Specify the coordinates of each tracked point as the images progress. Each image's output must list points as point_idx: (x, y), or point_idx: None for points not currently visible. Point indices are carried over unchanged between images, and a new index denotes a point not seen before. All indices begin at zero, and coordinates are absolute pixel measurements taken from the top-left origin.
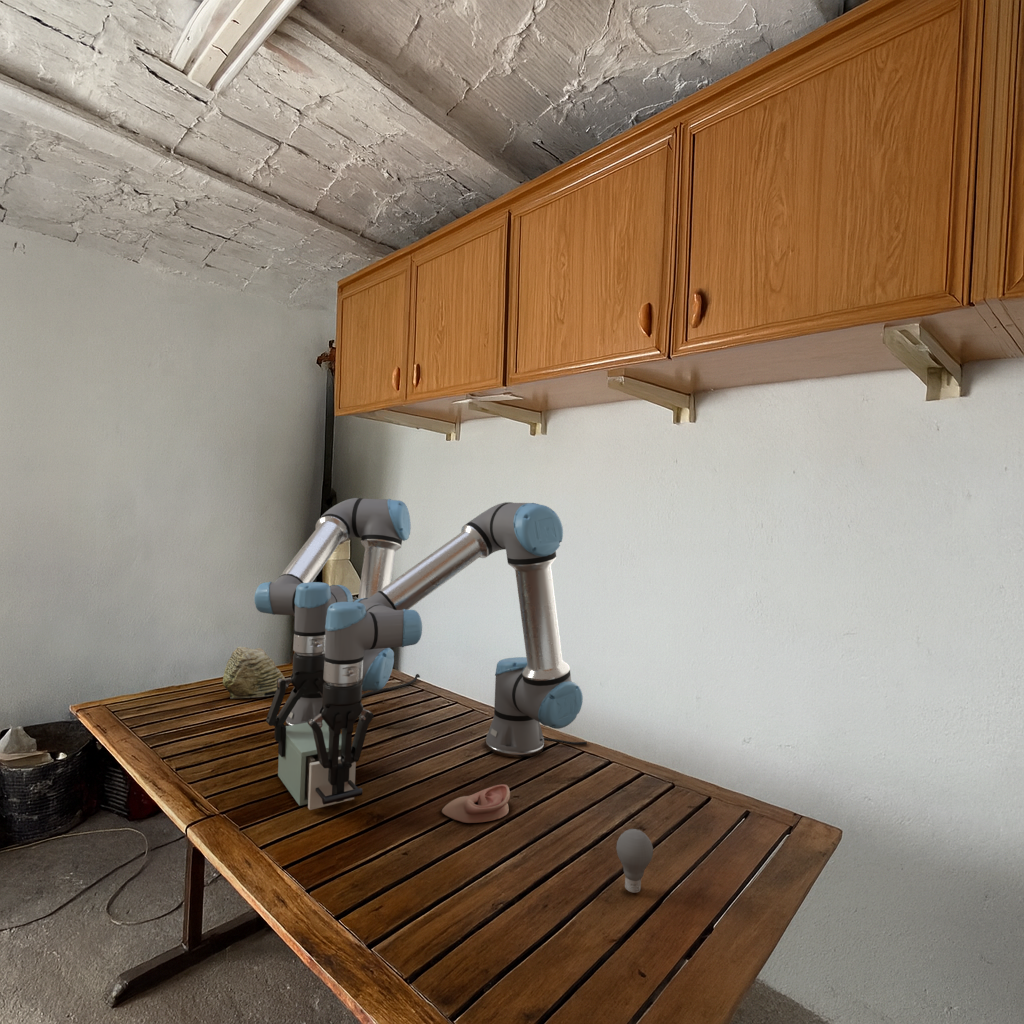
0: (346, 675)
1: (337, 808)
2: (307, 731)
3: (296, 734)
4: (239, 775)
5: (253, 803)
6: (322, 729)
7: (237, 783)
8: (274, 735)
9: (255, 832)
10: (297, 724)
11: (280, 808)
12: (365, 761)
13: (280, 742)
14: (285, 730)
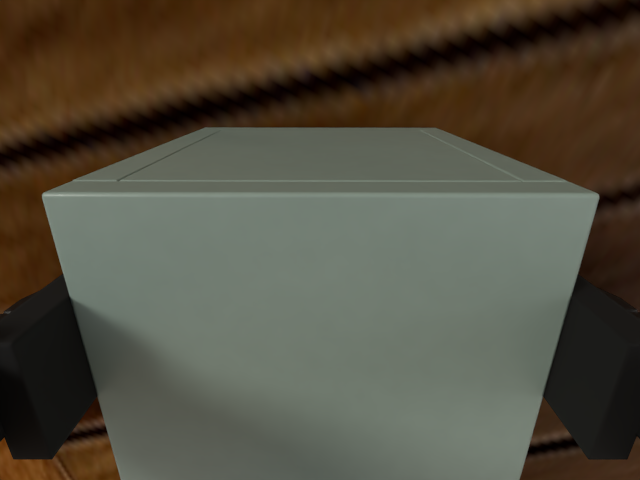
0: None
1: None
2: (291, 413)
3: (185, 432)
4: (18, 11)
5: None
6: (424, 428)
7: (16, 111)
8: (8, 311)
9: (91, 470)
10: (248, 207)
11: None
12: (633, 171)
13: None
14: (68, 427)
